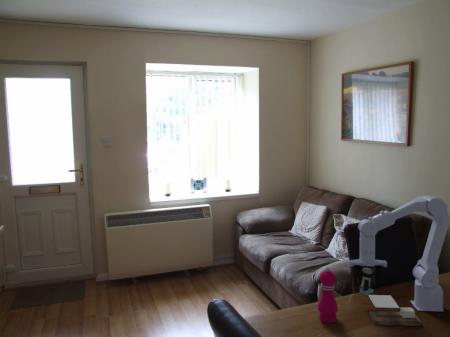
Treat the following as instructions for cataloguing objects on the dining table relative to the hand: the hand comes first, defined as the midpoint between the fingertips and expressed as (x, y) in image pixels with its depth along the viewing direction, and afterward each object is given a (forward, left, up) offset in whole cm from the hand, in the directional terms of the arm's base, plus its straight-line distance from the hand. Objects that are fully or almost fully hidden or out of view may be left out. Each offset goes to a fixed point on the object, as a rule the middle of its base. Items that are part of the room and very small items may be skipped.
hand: (366, 283), depth 150 cm
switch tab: (-11, +12, -7) cm, 18 cm away
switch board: (-7, +12, -9) cm, 16 cm away
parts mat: (-7, -4, -9) cm, 12 cm away
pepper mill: (+17, +12, -9) cm, 23 cm away
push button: (+1, 0, -4) cm, 4 cm away
